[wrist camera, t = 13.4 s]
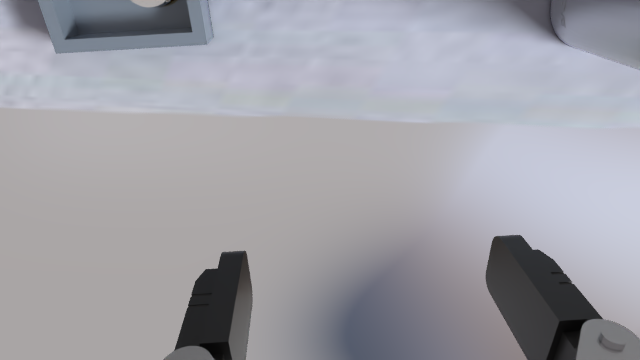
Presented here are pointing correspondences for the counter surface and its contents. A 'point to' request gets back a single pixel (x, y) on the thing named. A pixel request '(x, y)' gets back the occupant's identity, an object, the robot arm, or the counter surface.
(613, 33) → the robot arm
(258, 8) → the counter surface
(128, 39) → the dish
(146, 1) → the ring
